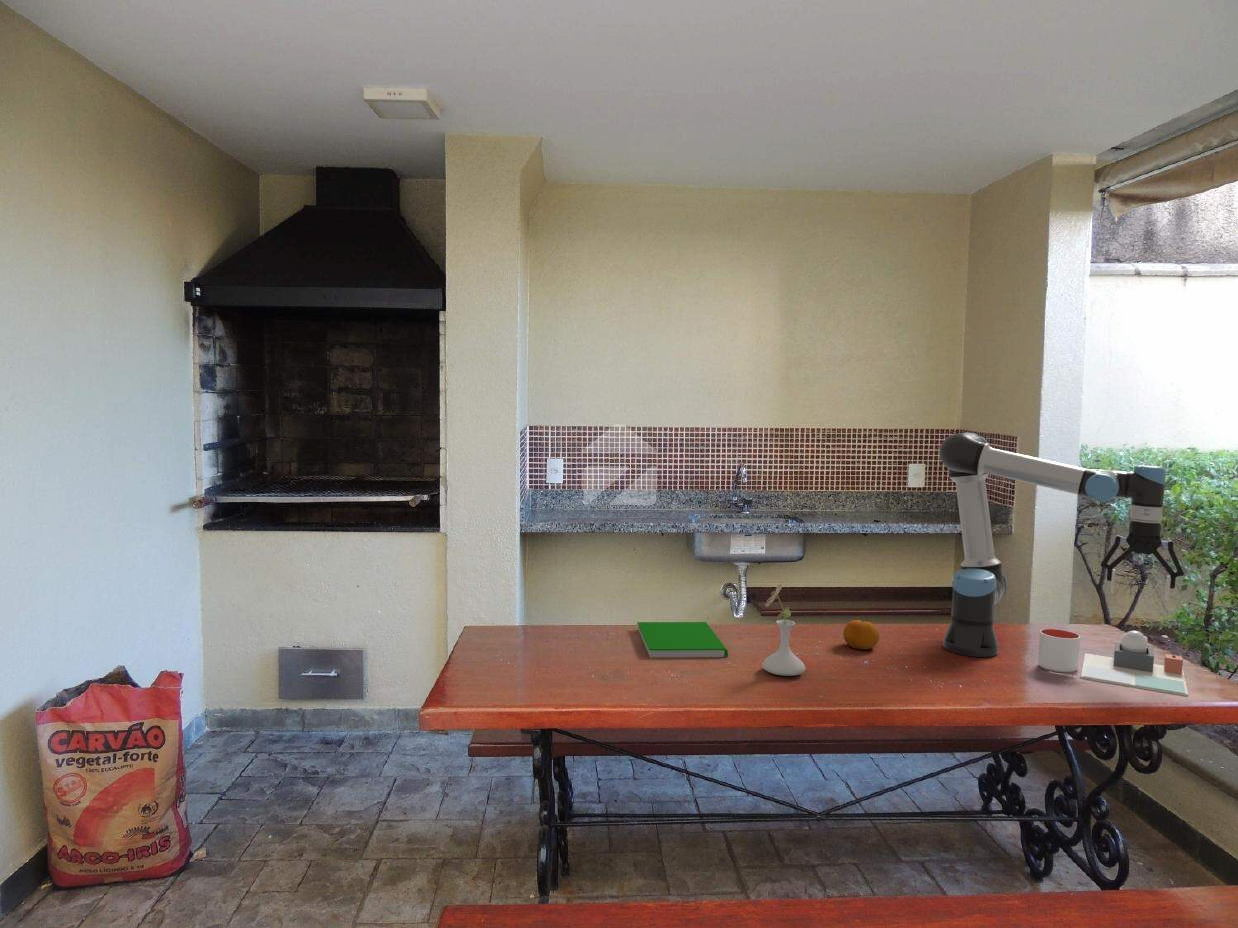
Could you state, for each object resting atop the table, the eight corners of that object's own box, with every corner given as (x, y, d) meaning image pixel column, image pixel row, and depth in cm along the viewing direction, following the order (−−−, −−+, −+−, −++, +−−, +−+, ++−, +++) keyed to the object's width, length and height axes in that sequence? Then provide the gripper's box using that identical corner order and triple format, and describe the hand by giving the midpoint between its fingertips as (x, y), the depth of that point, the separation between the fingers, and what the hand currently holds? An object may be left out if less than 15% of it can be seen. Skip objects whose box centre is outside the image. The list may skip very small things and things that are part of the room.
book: (649, 659, 236) (649, 649, 236) (636, 631, 264) (637, 622, 264) (727, 659, 239) (728, 648, 238) (707, 631, 266) (707, 621, 266)
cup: (1083, 676, 230) (1085, 640, 229) (1043, 672, 232) (1045, 637, 231) (1071, 664, 240) (1073, 630, 239) (1033, 661, 242) (1035, 627, 241)
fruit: (883, 646, 253) (884, 620, 253) (873, 654, 244) (874, 627, 244) (848, 640, 259) (849, 614, 258) (837, 648, 250) (839, 621, 249)
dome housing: (1113, 665, 238) (1114, 650, 237) (1113, 657, 246) (1115, 642, 245) (1152, 672, 233) (1154, 656, 233) (1151, 663, 241) (1153, 648, 241)
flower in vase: (778, 663, 234) (781, 574, 232) (813, 673, 226) (817, 581, 224) (749, 673, 225) (753, 580, 223) (785, 684, 217) (789, 588, 215)
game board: (1081, 677, 228) (1082, 660, 228) (1085, 654, 249) (1086, 638, 249) (1187, 696, 216) (1189, 677, 215) (1182, 670, 237) (1183, 653, 237)
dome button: (1121, 654, 238) (1123, 631, 238) (1121, 648, 243) (1123, 626, 243) (1146, 657, 235) (1148, 635, 235) (1145, 652, 240) (1147, 630, 240)
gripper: (1094, 517, 239) (1088, 591, 241) (1199, 527, 227) (1192, 605, 228) (1095, 514, 246) (1089, 587, 247) (1197, 523, 233) (1190, 599, 235)
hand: (1138, 596), depth 238 cm, fingers open, 12 cm apart
